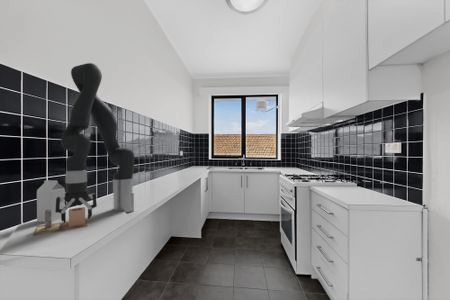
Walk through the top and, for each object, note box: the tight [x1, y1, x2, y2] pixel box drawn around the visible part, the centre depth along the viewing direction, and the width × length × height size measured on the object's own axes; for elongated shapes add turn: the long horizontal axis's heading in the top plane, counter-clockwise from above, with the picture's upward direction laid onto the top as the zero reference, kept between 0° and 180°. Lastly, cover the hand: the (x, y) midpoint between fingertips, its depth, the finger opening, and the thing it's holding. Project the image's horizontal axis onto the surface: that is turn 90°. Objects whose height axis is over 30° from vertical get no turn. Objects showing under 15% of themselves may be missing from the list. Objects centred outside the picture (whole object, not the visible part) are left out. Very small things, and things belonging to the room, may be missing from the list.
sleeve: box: [68, 206, 86, 227], centre depth 93 cm, size 6×6×6 cm
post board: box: [32, 209, 88, 237], centre depth 90 cm, size 17×13×9 cm
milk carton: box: [36, 179, 66, 223], centre depth 100 cm, size 7×7×19 cm
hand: (77, 219), depth 93 cm, fingers open, 8 cm apart
